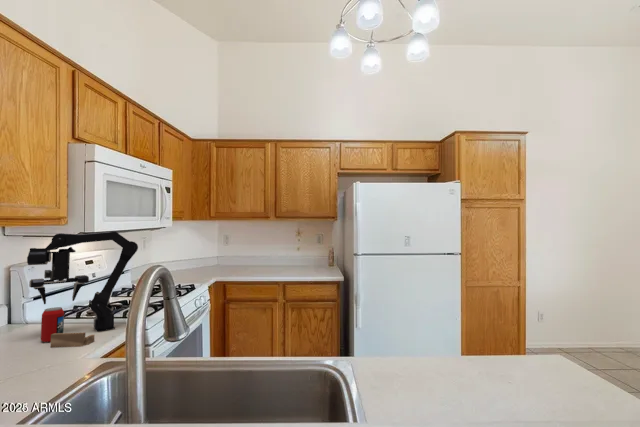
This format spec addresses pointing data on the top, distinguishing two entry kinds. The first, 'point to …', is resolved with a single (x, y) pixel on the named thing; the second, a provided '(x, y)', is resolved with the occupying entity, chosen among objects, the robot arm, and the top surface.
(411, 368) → the top surface
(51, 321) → the beverage can
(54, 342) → the can cradle
